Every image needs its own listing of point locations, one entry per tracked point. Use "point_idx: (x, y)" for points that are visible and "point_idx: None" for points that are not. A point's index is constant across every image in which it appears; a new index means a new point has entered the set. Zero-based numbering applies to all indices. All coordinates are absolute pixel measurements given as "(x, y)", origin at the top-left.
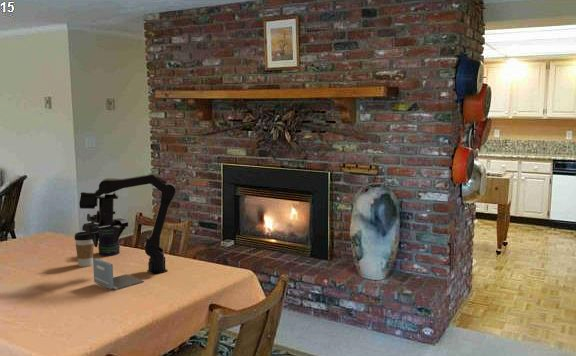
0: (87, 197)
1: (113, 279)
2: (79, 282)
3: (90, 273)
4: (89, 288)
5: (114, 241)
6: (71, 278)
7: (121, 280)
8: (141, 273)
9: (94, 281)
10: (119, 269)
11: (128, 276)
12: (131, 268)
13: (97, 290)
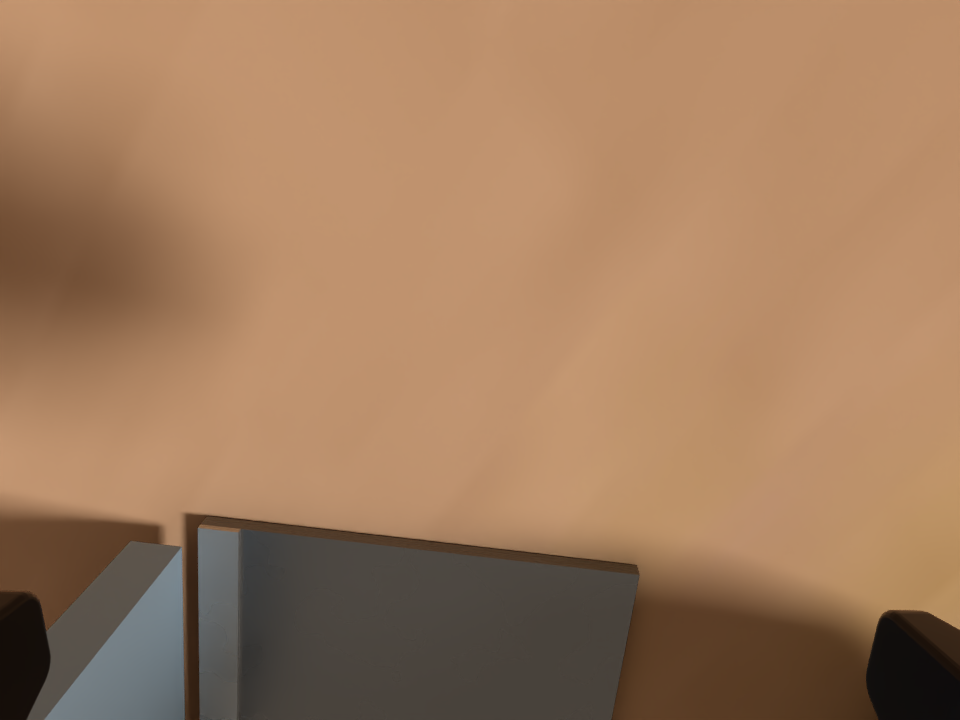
0: None
1: (387, 610)
2: (42, 303)
3: (371, 49)
4: (37, 593)
5: (917, 688)
6: (30, 26)
7: (427, 710)
8: (809, 657)
9: (127, 555)
10: (789, 267)
11: (587, 665)
12: (926, 379)
13: None
